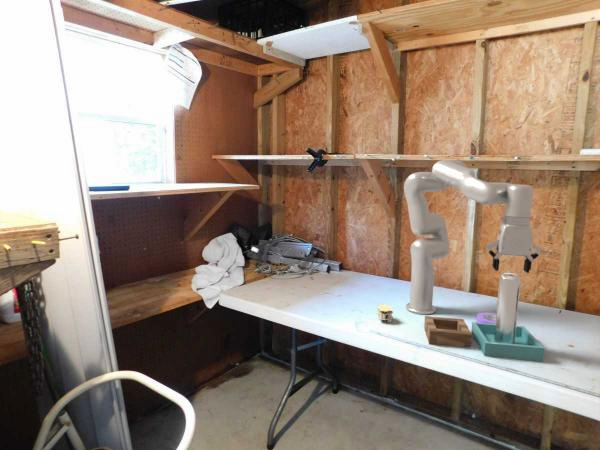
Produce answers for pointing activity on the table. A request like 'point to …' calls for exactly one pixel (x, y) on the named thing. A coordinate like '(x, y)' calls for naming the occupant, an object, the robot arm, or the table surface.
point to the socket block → (447, 332)
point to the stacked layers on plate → (385, 313)
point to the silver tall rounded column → (507, 308)
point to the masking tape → (486, 318)
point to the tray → (522, 349)
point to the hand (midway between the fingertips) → (510, 270)
